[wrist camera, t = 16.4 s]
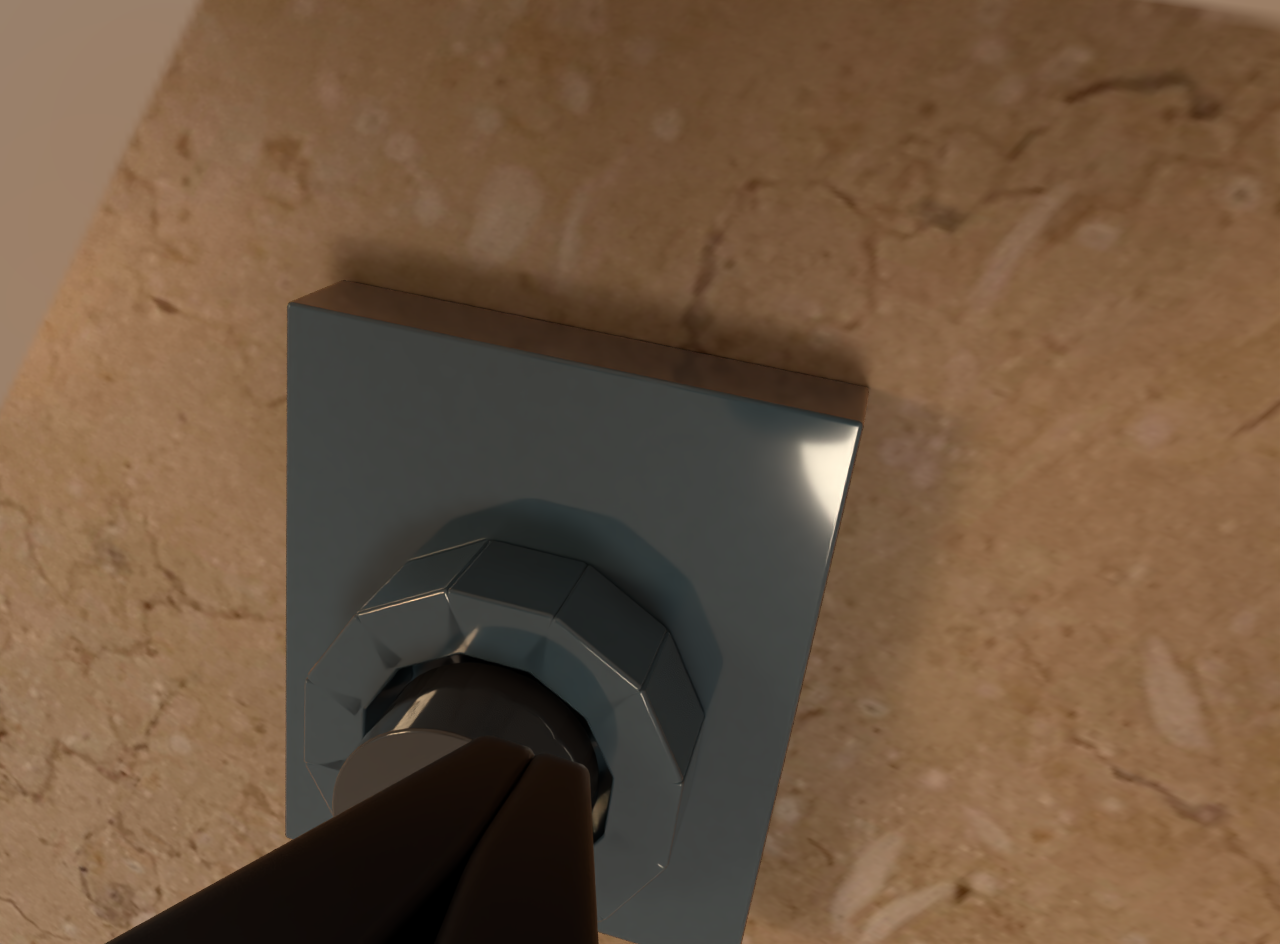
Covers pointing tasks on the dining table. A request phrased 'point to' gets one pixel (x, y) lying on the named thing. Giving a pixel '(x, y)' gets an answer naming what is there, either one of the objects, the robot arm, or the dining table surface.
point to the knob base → (565, 566)
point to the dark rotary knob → (460, 727)
